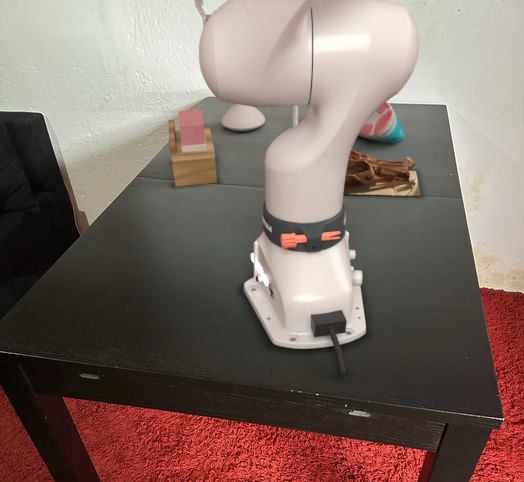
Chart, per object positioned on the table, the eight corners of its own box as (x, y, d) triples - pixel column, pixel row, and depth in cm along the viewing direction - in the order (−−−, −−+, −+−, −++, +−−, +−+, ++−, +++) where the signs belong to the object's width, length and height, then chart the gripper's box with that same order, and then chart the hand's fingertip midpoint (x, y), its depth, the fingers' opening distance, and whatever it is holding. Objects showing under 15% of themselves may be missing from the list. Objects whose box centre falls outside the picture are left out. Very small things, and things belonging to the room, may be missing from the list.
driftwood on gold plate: (288, 138, 114) (420, 139, 112) (288, 168, 119) (414, 169, 116) (284, 162, 104) (429, 164, 101) (284, 194, 108) (423, 196, 106)
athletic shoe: (403, 155, 123) (427, 105, 121) (378, 136, 118) (403, 83, 116) (336, 144, 144) (356, 101, 142) (312, 128, 139) (332, 83, 136)
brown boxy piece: (217, 182, 113) (213, 139, 107) (175, 186, 113) (169, 142, 106) (212, 158, 123) (209, 116, 116) (174, 161, 122) (168, 120, 116)
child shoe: (207, 150, 109) (204, 124, 105) (182, 152, 108) (178, 126, 105) (203, 129, 118) (201, 104, 114) (180, 131, 117) (177, 106, 114)
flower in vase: (265, 134, 132) (262, 20, 115) (220, 136, 133) (211, 21, 116) (265, 116, 142) (263, 8, 125) (223, 117, 142) (215, 9, 125)
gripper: (163, -68, 81) (176, 33, 91) (293, -75, 83) (292, 26, 93) (163, -72, 86) (175, 25, 95) (286, -78, 88) (286, 18, 97)
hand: (233, 25), depth 94 cm, fingers open, 8 cm apart
